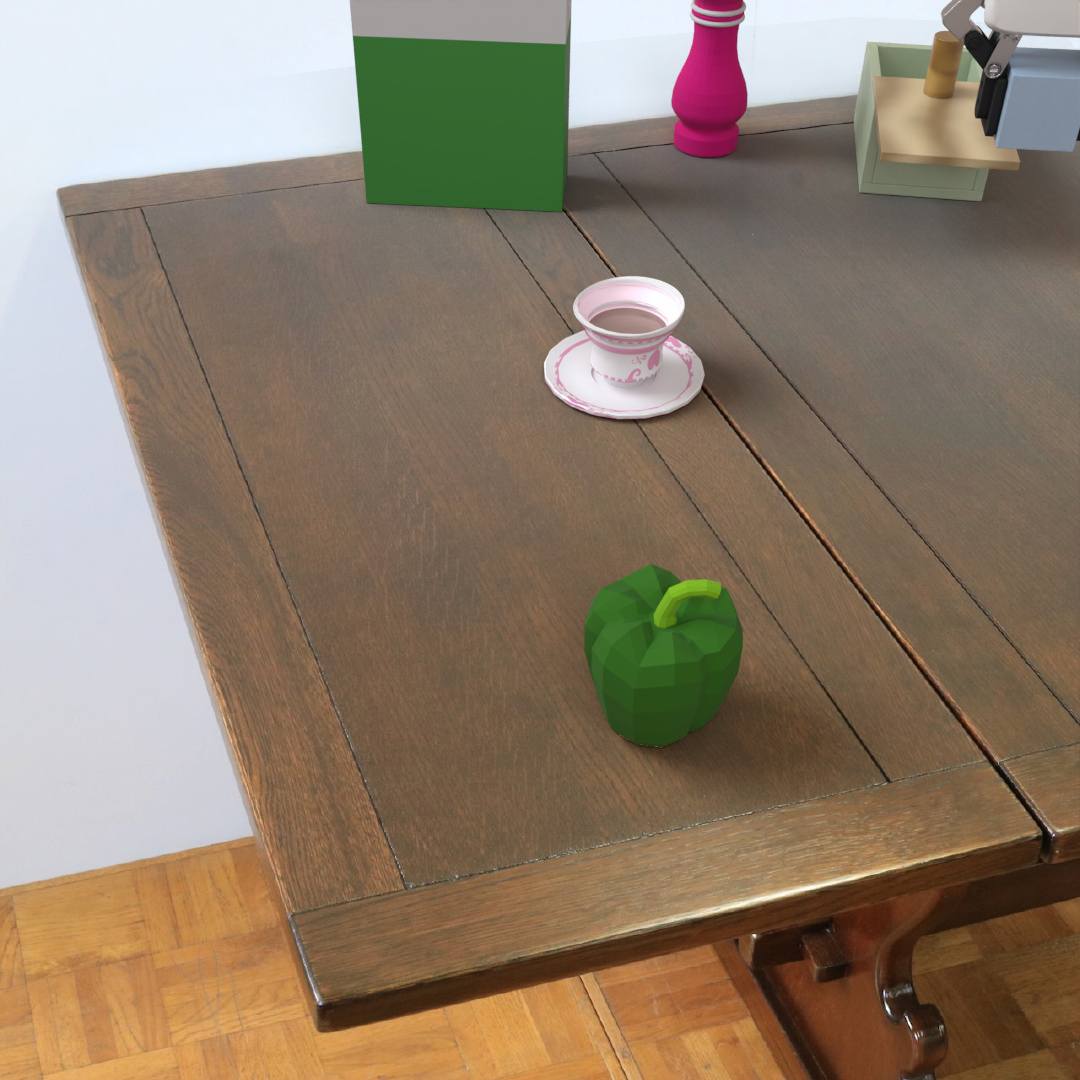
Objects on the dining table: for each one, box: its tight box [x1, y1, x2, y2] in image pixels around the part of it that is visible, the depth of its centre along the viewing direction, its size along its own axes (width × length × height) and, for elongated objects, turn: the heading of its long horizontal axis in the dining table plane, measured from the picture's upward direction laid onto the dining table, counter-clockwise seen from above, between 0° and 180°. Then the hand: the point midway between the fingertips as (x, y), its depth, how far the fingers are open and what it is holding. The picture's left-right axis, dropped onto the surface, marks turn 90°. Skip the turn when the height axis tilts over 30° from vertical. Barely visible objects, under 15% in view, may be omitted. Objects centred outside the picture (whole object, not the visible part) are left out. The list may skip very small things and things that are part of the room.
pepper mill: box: [670, 0, 749, 158], centre depth 123 cm, size 7×7×20 cm
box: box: [853, 41, 990, 202], centre depth 125 cm, size 11×16×8 cm
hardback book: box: [349, 0, 572, 213], centre depth 114 cm, size 18×7×24 cm, turn 85°
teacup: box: [543, 275, 706, 420], centre depth 97 cm, size 12×12×6 cm
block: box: [994, 46, 1080, 153], centre depth 89 cm, size 5×5×5 cm
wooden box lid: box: [872, 30, 1021, 172], centre depth 112 cm, size 11×16×6 cm
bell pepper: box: [583, 563, 744, 748], centre depth 71 cm, size 8×8×10 cm
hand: (1031, 127), depth 91 cm, fingers closed on block, 5 cm apart
